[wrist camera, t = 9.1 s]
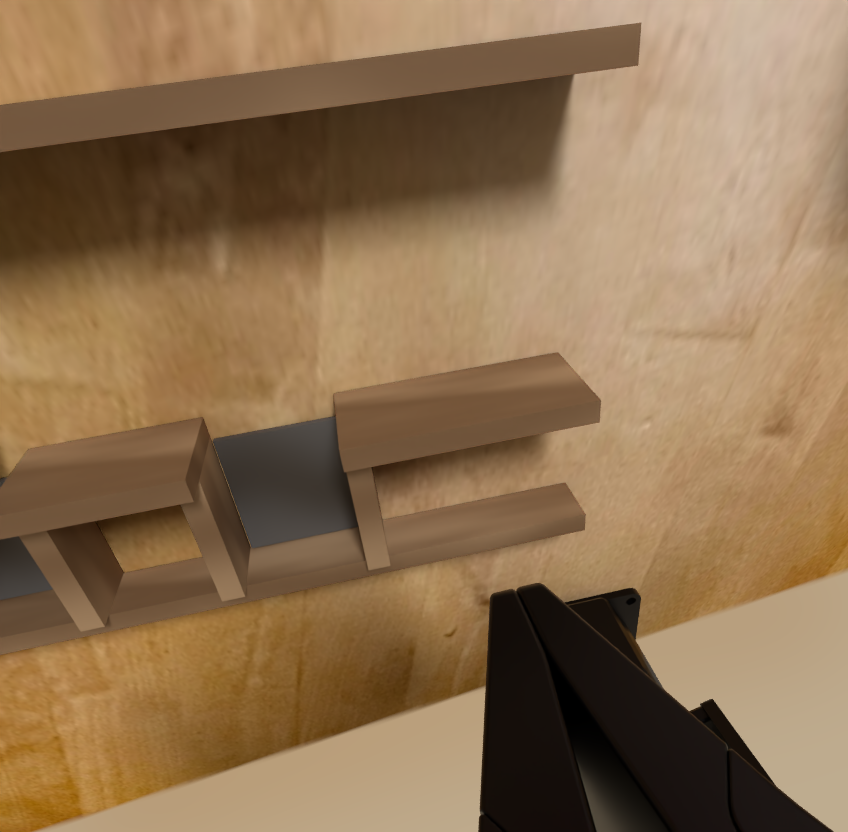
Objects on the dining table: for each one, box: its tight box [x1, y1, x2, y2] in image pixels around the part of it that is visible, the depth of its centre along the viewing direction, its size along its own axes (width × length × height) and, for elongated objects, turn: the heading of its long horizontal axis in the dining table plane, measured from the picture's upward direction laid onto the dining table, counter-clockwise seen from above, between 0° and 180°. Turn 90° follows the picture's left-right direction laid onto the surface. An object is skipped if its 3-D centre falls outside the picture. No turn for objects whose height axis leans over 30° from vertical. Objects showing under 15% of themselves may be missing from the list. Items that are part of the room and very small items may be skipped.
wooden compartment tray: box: [0, 23, 641, 655], centre depth 17 cm, size 16×33×4 cm, turn 96°
